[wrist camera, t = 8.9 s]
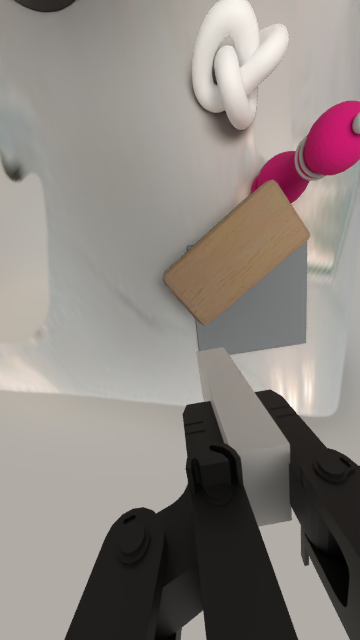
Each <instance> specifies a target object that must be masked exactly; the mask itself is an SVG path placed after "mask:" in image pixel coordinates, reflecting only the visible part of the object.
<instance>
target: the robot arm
mask: <svg viewBox="0 0 360 640" xmlns="http://www.w3.org/2000/svg"><path fill="white" fill-rule="evenodd" d="M16 1H17V2H19V3H21V4H22V5H24V6H26V7H29V8H32V9H35V10H40V11H52V10H57V9H60V8H63V7H65V6H67V5H69V4H70V3H71V2H73V1H74V0H16ZM197 358H198V365H199V372H200V379H201V386H202V393H203V398H204V401H205V402H201V403H195V404H189V405H187V406H186V408H185V410H184V413H183V421H184V429H185V438H186V448H187V457H188V458H187V462H186V473H187V478H188V485H187V488H186V489H185V491H184V493H183V494H182V495H181V497H180V498H179V499H178V500H177V501H176V502H174V503H173V504H172V505H170V506H168V507H167V508H165V509H163V510H161V511H160V512H158V513H157V514H156V513H155V512H154V511H152V510H150V509H147V508H144V507H142V508H135V509H132V510H130V511H128V512H126V513H125V514H123V515H122V516H121V517H120V518H119V519H118V520H117V521H116V522H115V523H114V524H113V525H112V527H111V529H110V531H109V532H108V534H107V536H106V538H105V540H104V542H103V545H102V547H101V550H100V552H99V555H98V557H97V560H96V562H95V565H94V567H93V570H92V572H91V575H90V577H89V580H88V582H87V585H86V587H85V590H84V592H83V595H82V597H81V600H80V602H79V605H78V607H77V610H76V612H75V615H74V617H73V620H72V622H71V625H70V627H69V630H68V632H67V635H66V637H65V640H181V630H182V627H183V626H184V625H185V624H187V623H188V622H189V621H190V620H191V619H193V618H194V617H195V616H197V615H198V614H199V613H200V612H201V611H202V610H203V612H204V621H205V630H206V639H207V640H298V638H297V635H296V632H295V630H294V627H293V624H292V621H291V618H290V615H289V612H288V610H287V607H286V604H285V601H284V598H283V595H282V593H281V590H280V587H279V584H278V581H277V579H276V576H275V573H274V570H273V567H272V564H271V561H270V559H269V556H268V553H267V550H266V547H265V544H264V542H263V539H262V536H261V533H260V530H259V528H258V526H263V525H268V524H274V523H279V522H284V521H290V520H292V517H291V507H292V509H293V511H294V512H295V515H296V516H297V518H298V520H299V522H300V524H301V556H302V559H303V562H304V565H305V566H307V565H309V556H310V559H311V561H312V562H313V565H314V567H315V569H316V571H317V573H318V575H319V577H320V579H321V581H322V583H323V585H324V587H325V589H326V591H327V593H328V595H329V597H330V600H331V602H332V604H333V606H334V608H335V610H336V612H337V614H338V616H339V618H340V620H341V622H342V624H343V626H344V628H345V630H346V632H347V635H348V636H349V639H350V640H360V466H358V465H357V464H355V463H354V462H353V461H352V460H351V459H349V458H348V457H347V456H345V455H344V454H342V453H340V452H337V451H336V450H333V449H329V448H327V447H326V446H325V445H324V444H323V443H322V442H321V441H320V440H319V438H318V437H317V436H316V435H315V434H314V433H313V432H312V430H311V429H310V428H309V427H308V426H307V425H306V424H305V422H304V421H303V420H302V419H301V418H300V417H299V415H297V414H296V412H295V411H294V410H293V408H292V407H290V405H289V404H288V403H287V402H286V400H285V399H284V398H283V397H282V396H281V395H279V394H277V393H276V392H274V391H272V390H265V391H259V392H254V391H253V389H252V388H251V386H250V385H249V384H248V382H247V381H246V379H245V378H244V376H243V375H242V373H241V372H240V370H239V369H238V367H237V366H236V365H235V363H234V362H233V360H232V359H231V357H230V356H229V354H228V353H227V351H226V350H225V348H224V347H222V348H216V349H210V350H204V351H198V352H197Z"/></svg>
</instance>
